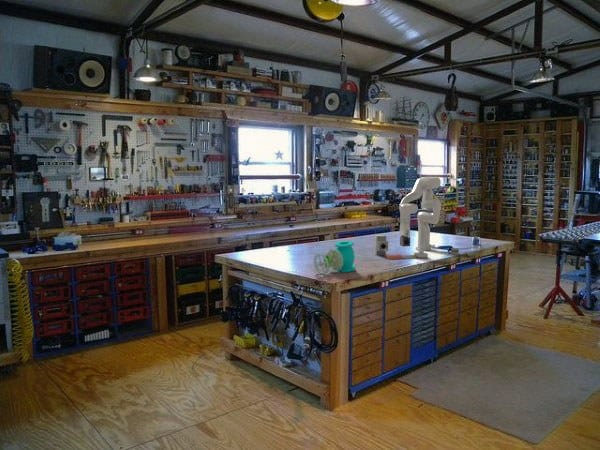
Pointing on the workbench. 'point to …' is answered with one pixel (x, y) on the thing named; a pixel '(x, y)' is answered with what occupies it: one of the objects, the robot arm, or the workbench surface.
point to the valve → (337, 258)
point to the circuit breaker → (380, 245)
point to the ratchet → (416, 255)
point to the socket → (403, 241)
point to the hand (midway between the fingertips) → (405, 243)
